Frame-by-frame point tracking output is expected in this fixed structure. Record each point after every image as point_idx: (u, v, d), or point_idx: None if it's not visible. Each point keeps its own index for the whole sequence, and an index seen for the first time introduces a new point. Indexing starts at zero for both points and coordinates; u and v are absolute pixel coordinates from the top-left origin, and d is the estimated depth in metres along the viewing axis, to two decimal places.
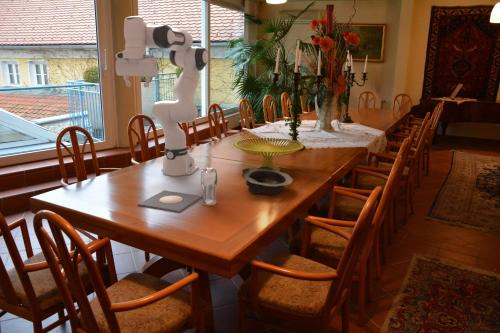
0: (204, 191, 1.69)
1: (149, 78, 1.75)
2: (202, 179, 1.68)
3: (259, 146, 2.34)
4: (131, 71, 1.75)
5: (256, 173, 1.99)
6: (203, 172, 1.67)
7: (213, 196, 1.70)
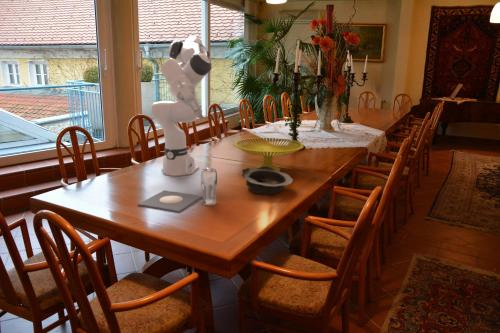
0: (204, 191, 1.69)
1: (191, 101, 1.63)
2: (202, 179, 1.68)
3: (259, 146, 2.34)
4: None
5: (256, 173, 1.99)
6: (203, 172, 1.67)
7: (213, 196, 1.70)
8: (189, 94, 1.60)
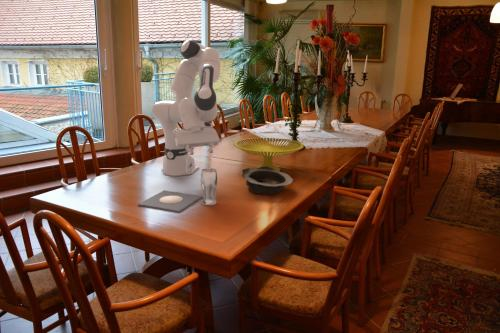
0: (204, 191, 1.69)
1: (185, 147, 1.78)
2: (202, 179, 1.68)
3: (259, 146, 2.34)
4: None
5: (256, 173, 1.99)
6: (203, 172, 1.67)
7: (213, 196, 1.70)
8: (178, 144, 1.76)
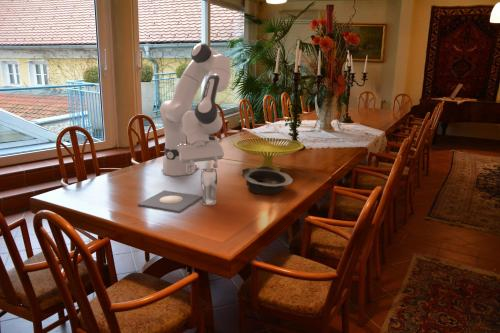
0: (204, 191, 1.69)
1: (189, 162, 1.74)
2: (202, 179, 1.68)
3: (259, 146, 2.34)
4: None
5: (256, 173, 1.99)
6: (203, 172, 1.67)
7: (213, 196, 1.70)
8: (182, 159, 1.72)
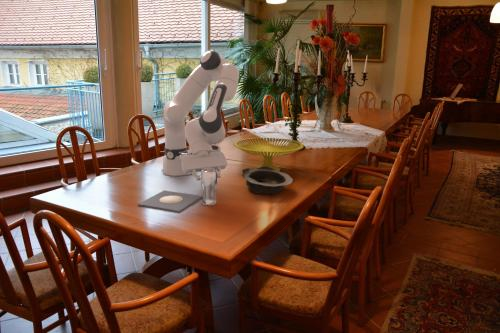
0: (204, 191, 1.69)
1: (192, 172, 1.71)
2: (202, 179, 1.68)
3: (259, 146, 2.34)
4: None
5: (256, 173, 1.99)
6: (203, 172, 1.67)
7: (213, 196, 1.70)
8: (184, 170, 1.69)
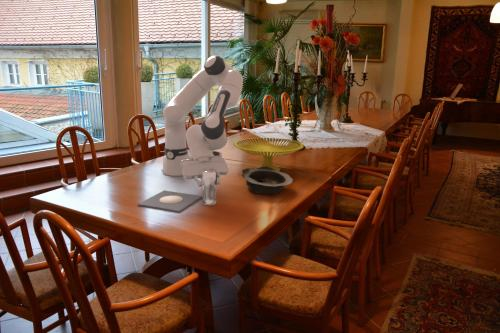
0: (204, 191, 1.69)
1: (194, 178, 1.69)
2: (202, 179, 1.68)
3: (259, 146, 2.34)
4: None
5: (256, 173, 1.99)
6: (203, 172, 1.67)
7: (213, 196, 1.70)
8: (185, 176, 1.67)
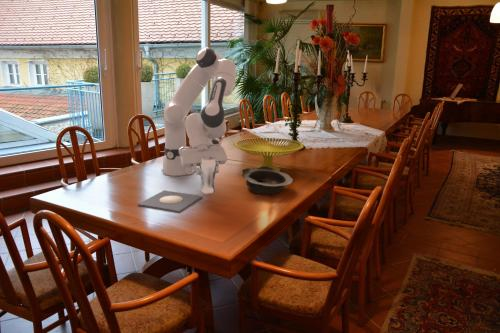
0: (203, 179, 1.67)
1: (193, 166, 1.68)
2: (201, 167, 1.66)
3: (259, 146, 2.34)
4: None
5: (256, 173, 1.99)
6: (202, 160, 1.65)
7: (212, 184, 1.69)
8: (183, 163, 1.66)
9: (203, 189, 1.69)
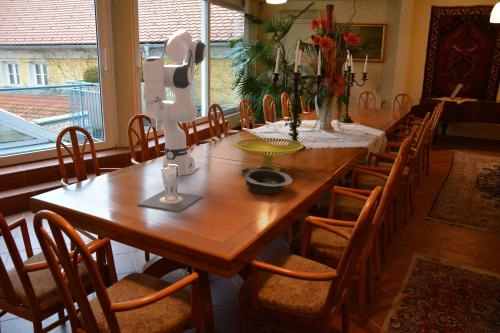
0: (166, 187, 1.70)
1: (159, 121, 1.64)
2: (163, 175, 1.68)
3: (259, 146, 2.34)
4: (150, 113, 1.70)
5: (256, 173, 1.99)
6: (164, 168, 1.67)
7: (175, 192, 1.71)
8: (163, 119, 1.62)
9: (166, 197, 1.71)
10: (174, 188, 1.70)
